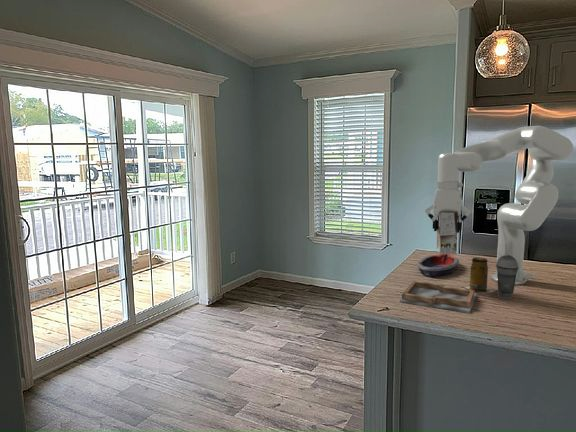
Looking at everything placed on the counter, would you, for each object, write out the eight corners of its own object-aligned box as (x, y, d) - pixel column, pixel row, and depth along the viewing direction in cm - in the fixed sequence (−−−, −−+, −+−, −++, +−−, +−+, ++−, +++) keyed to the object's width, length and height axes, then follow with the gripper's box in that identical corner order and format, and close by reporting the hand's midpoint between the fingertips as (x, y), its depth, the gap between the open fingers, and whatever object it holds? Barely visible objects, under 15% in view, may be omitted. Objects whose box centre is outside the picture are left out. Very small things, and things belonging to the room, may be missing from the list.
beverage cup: (507, 302, 151) (511, 246, 148) (489, 295, 158) (492, 242, 155) (520, 298, 155) (525, 244, 152) (502, 292, 161) (506, 240, 158)
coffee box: (457, 254, 162) (458, 212, 160) (439, 254, 164) (440, 212, 161) (453, 248, 171) (454, 208, 169) (436, 248, 173) (436, 208, 170)
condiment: (477, 285, 170) (479, 255, 168) (495, 291, 163) (497, 260, 161) (463, 288, 167) (465, 258, 165) (482, 294, 160) (484, 263, 158)
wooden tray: (476, 296, 158) (476, 288, 157) (469, 313, 141) (469, 305, 141) (412, 286, 169) (413, 280, 169) (399, 301, 153) (399, 294, 152)
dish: (407, 274, 186) (408, 263, 186) (434, 260, 210) (434, 250, 209) (443, 281, 177) (444, 269, 176) (467, 265, 200) (467, 254, 200)
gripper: (474, 185, 163) (472, 231, 165) (426, 184, 171) (425, 228, 174) (471, 187, 156) (469, 234, 159) (422, 186, 165) (421, 231, 167)
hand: (446, 231), depth 166 cm, fingers closed on coffee box, 7 cm apart
